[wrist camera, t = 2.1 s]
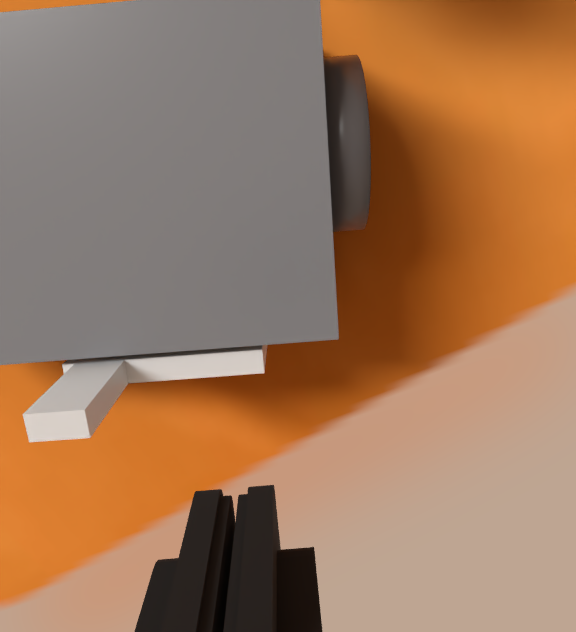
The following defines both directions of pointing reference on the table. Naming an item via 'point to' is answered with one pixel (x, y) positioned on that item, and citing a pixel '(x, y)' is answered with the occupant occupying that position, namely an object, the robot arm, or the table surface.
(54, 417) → the hatch
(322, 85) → the housing
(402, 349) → the table surface
